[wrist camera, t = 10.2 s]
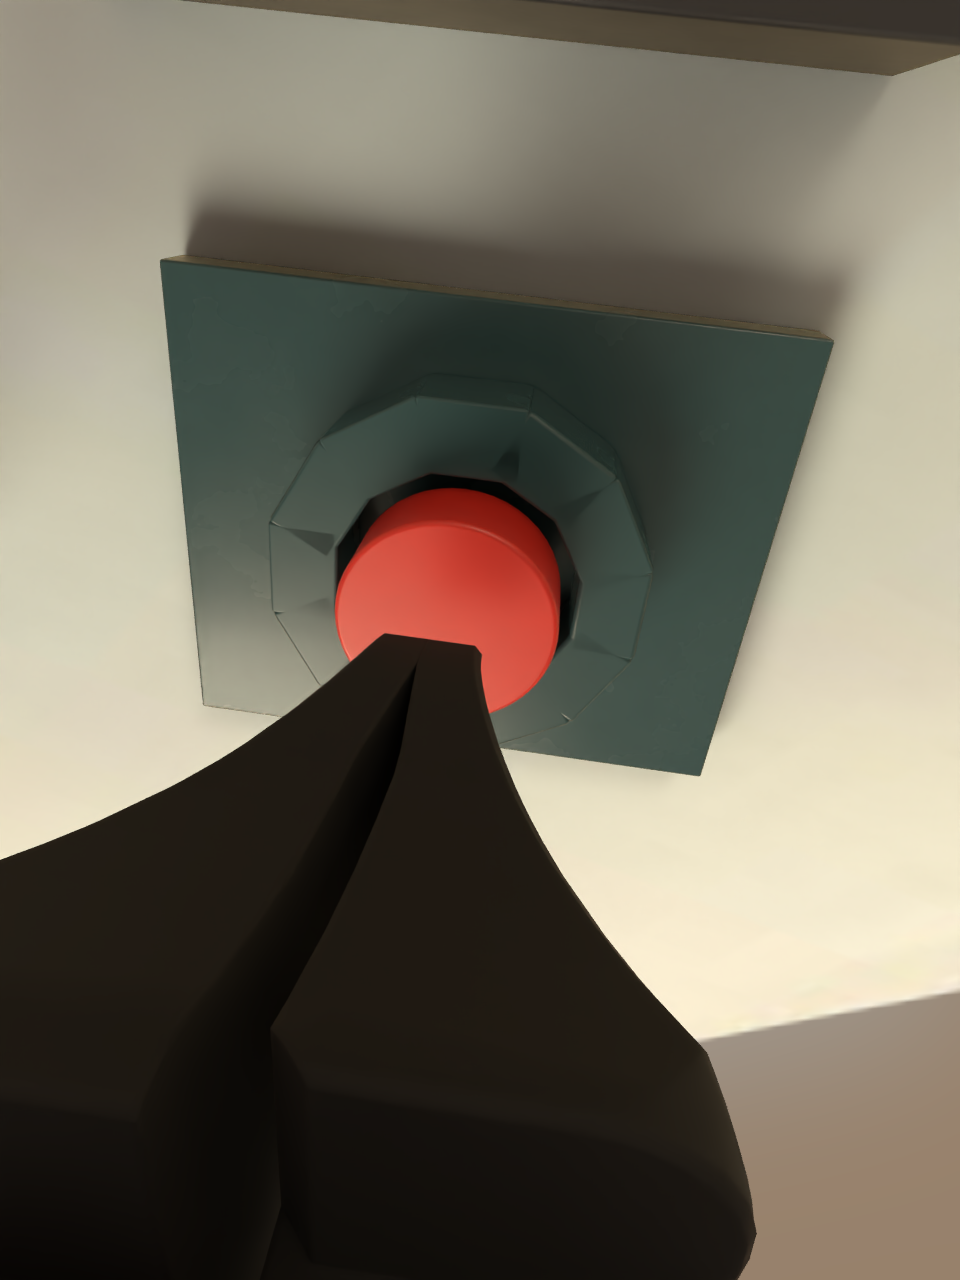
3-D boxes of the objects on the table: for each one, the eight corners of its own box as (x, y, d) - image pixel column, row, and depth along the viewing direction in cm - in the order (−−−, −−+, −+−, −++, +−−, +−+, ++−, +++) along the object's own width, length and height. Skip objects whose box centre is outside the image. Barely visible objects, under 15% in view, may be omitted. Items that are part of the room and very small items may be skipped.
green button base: (218, 684, 18) (168, 754, 16) (181, 254, 14) (105, 268, 12) (695, 751, 18) (711, 833, 16) (820, 330, 13) (870, 361, 11)
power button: (354, 657, 15) (332, 704, 14) (358, 472, 13) (333, 505, 12) (545, 684, 15) (542, 734, 13) (575, 500, 13) (576, 537, 12)
